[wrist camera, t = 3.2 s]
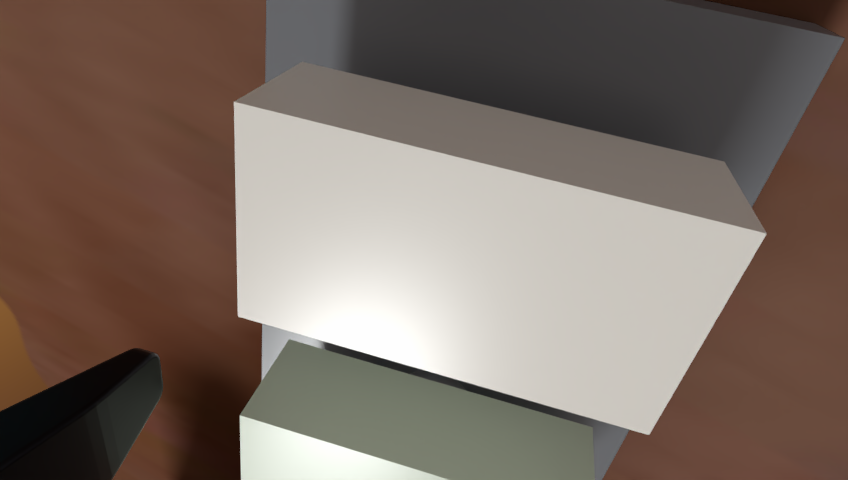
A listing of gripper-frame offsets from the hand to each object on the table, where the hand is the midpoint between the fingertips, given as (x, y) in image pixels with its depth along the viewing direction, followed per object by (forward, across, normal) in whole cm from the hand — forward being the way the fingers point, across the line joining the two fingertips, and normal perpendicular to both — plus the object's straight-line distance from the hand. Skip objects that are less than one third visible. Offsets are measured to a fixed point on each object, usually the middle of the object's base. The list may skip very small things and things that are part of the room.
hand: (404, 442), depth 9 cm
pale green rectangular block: (+8, 0, +10) cm, 13 cm away
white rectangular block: (+8, 0, 0) cm, 8 cm away
